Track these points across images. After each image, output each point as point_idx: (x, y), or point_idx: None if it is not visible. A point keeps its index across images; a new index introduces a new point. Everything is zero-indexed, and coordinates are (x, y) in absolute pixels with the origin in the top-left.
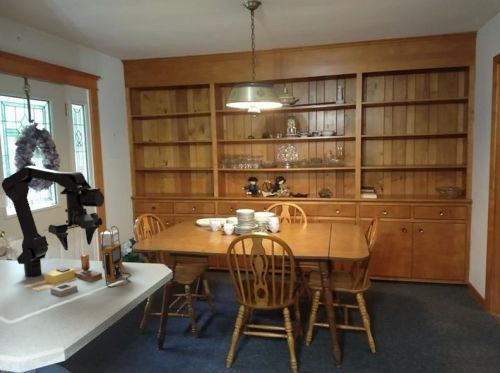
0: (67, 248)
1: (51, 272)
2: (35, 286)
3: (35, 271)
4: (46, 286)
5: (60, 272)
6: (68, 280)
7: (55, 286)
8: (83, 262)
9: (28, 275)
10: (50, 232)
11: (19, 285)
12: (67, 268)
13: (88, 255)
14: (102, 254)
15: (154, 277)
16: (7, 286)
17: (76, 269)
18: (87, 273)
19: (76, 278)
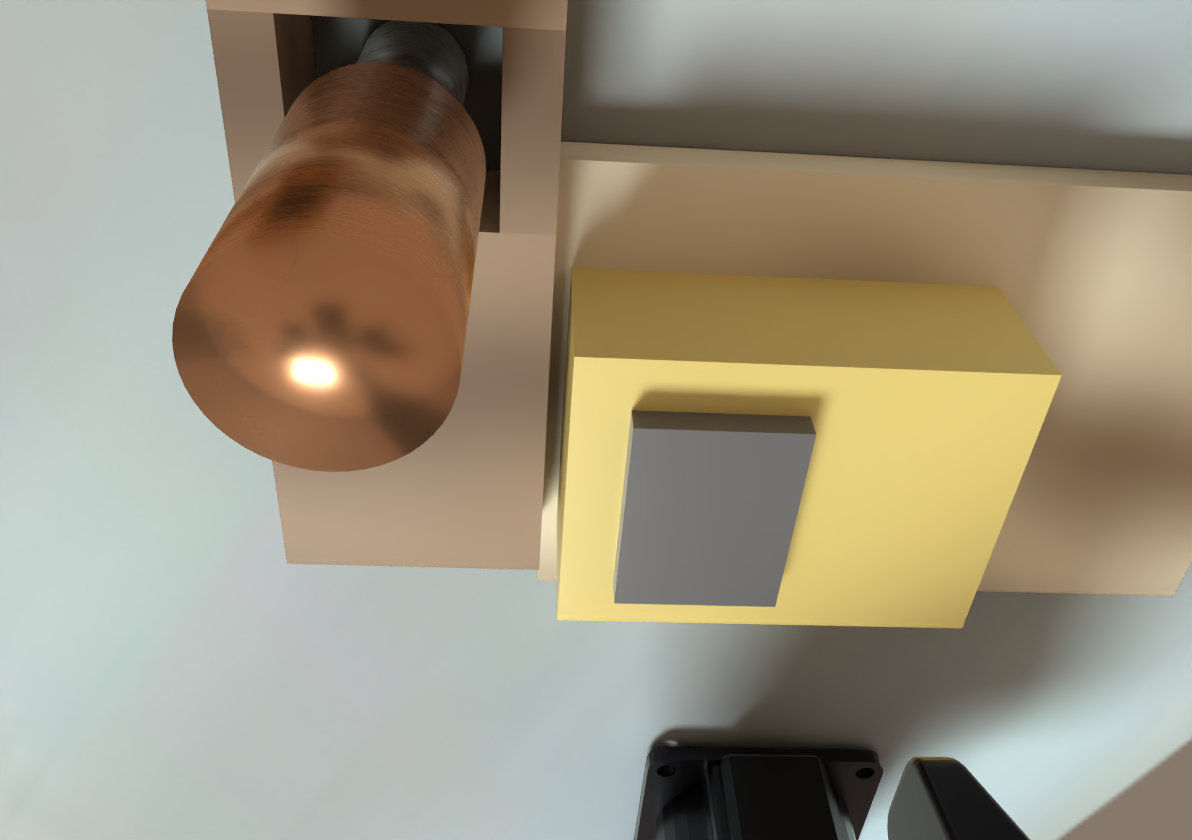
0: (957, 811)
1: (884, 576)
2: (1162, 451)
3: (824, 825)
4: (1132, 300)
5: (828, 445)
6: (748, 226)
7: None
8: (458, 206)
9: (851, 825)
10: None
11: (1070, 690)
12: (642, 487)
13: (223, 260)
14: None
15: None
16: (1131, 757)
17: (404, 464)
18: (431, 11)
19: (592, 187)
